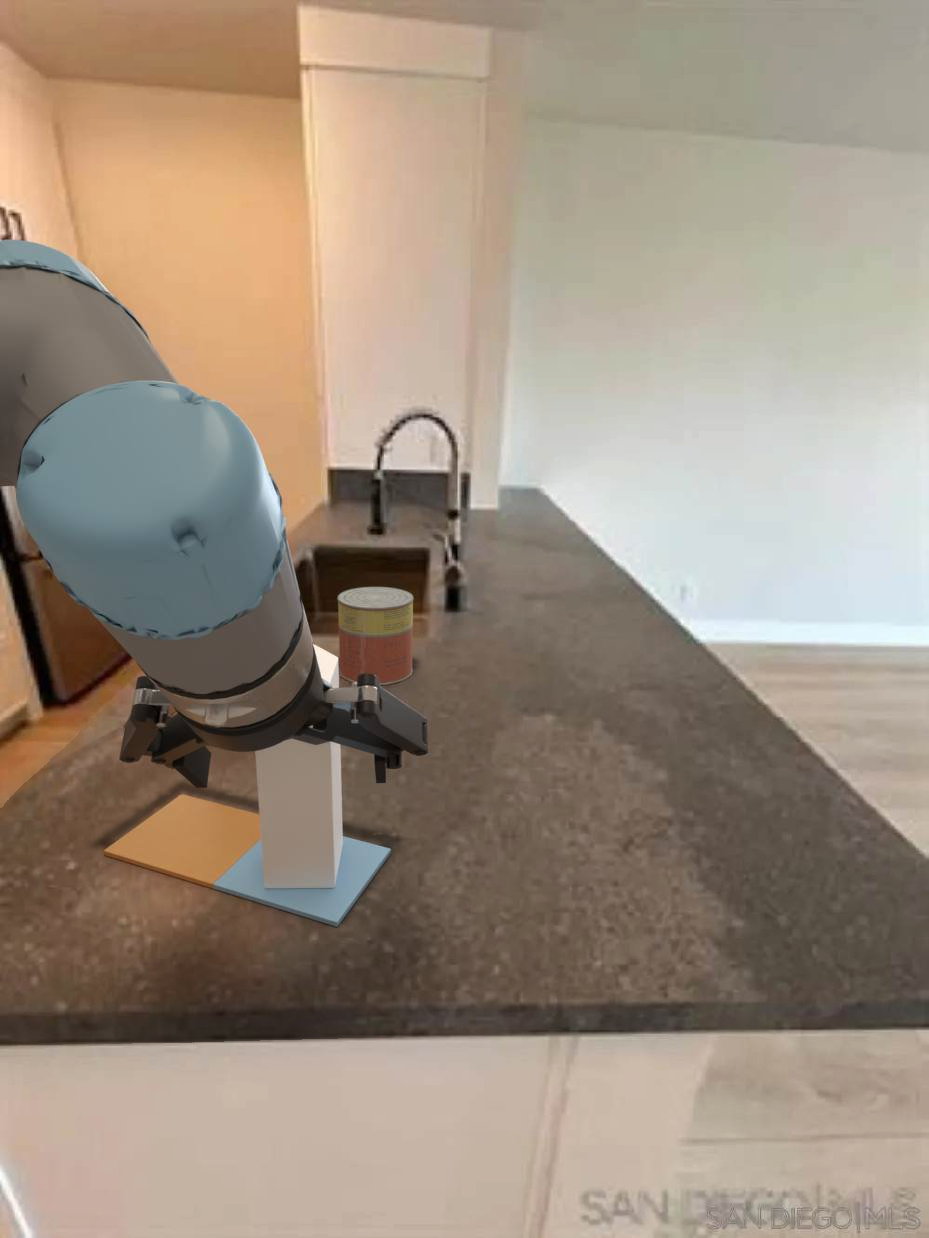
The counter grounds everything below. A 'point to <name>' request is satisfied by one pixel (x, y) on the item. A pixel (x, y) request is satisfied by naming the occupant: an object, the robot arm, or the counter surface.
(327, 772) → the milk
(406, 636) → the canned food
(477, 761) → the counter surface
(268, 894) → the sorting board
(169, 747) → the robot arm
